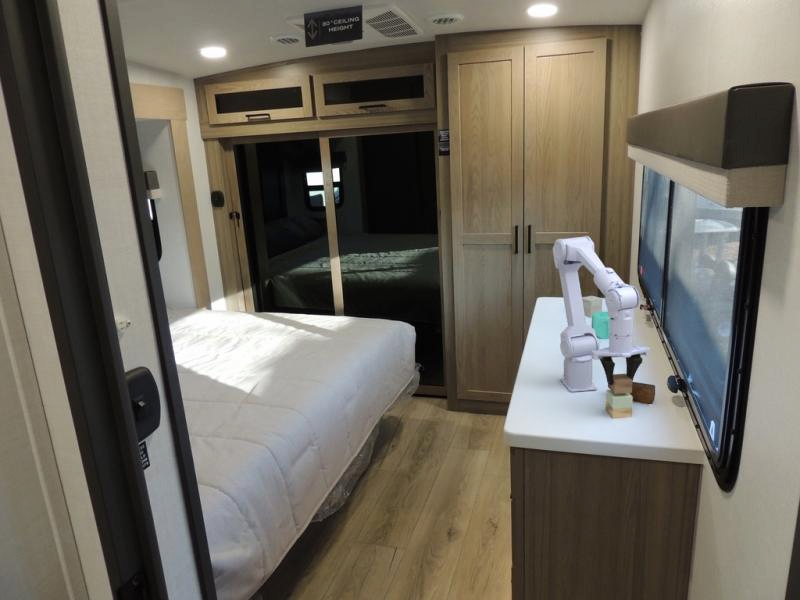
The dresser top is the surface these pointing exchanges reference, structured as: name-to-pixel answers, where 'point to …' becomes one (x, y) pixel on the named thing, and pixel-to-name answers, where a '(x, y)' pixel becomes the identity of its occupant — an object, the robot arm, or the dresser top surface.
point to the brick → (643, 392)
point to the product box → (592, 305)
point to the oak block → (618, 412)
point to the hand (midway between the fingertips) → (619, 382)
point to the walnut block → (621, 384)
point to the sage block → (619, 400)
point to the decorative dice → (601, 324)
